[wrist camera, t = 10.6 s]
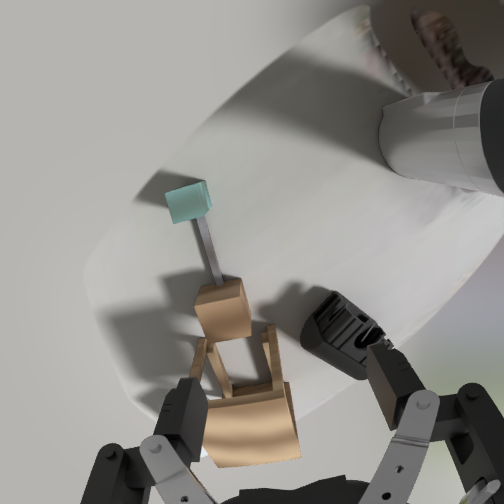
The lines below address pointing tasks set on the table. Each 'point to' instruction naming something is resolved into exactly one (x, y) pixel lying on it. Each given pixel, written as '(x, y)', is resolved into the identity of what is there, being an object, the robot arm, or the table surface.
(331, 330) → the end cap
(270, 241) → the table surface
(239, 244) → the table surface
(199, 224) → the corded block
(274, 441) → the shelf lane
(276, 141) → the table surface
